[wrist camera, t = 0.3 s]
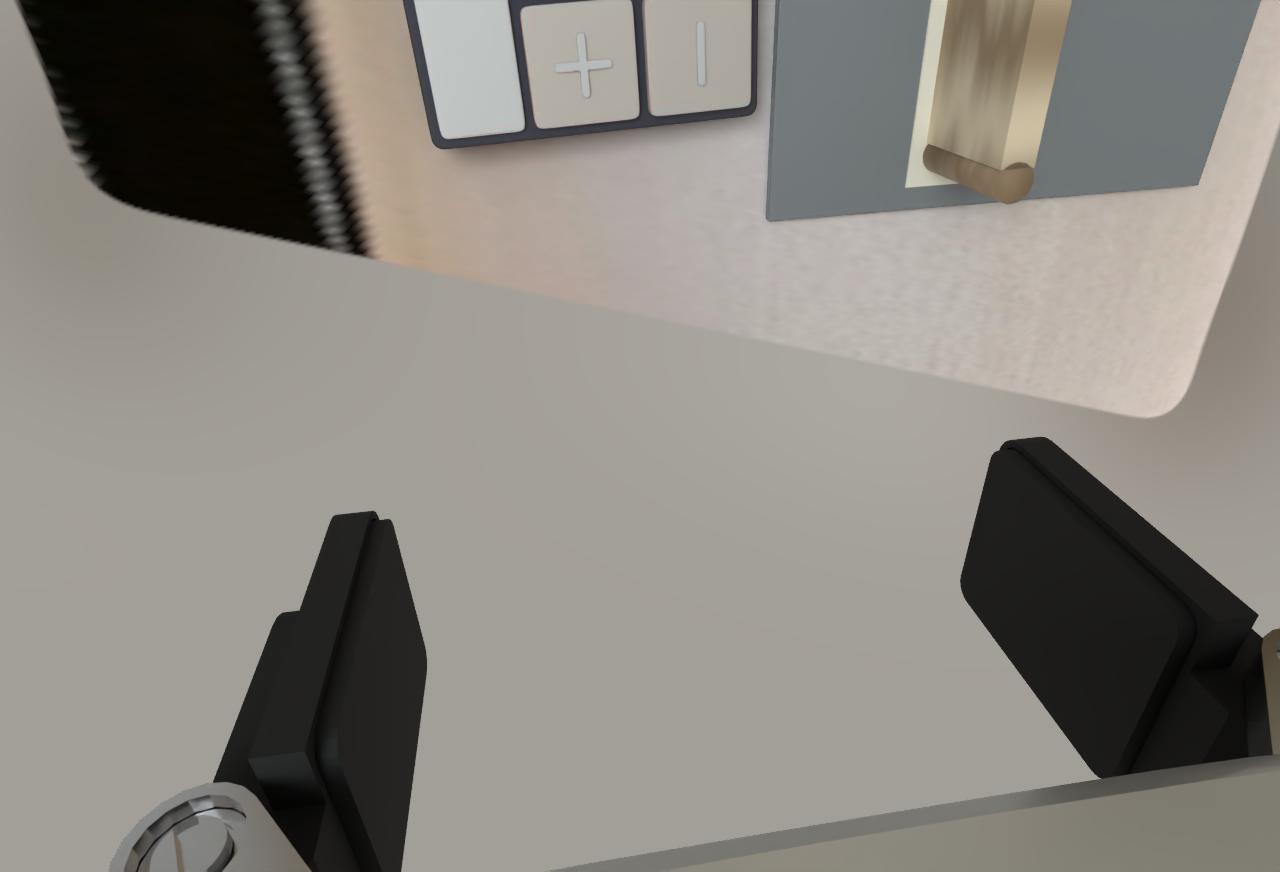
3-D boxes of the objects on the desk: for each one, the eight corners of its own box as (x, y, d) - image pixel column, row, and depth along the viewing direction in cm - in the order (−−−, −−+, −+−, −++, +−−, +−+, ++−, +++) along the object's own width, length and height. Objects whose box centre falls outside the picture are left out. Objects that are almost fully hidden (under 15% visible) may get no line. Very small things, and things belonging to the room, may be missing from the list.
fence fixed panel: (958, -93, 33) (1054, -111, 27) (996, -95, 33) (1099, -113, 28) (919, 172, 39) (991, 205, 33) (951, 170, 39) (1028, 202, 34)
